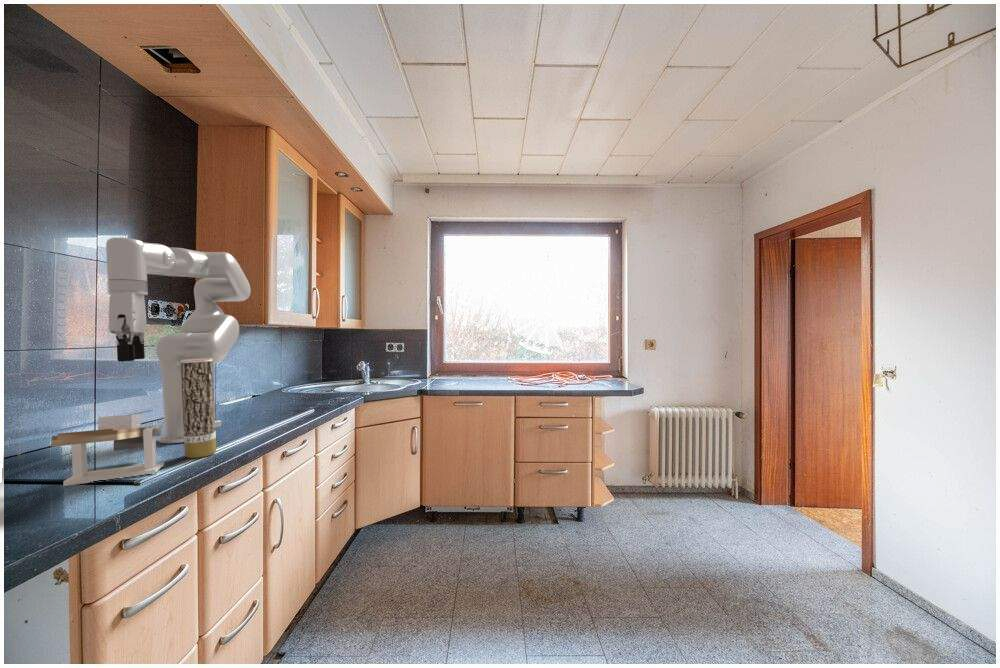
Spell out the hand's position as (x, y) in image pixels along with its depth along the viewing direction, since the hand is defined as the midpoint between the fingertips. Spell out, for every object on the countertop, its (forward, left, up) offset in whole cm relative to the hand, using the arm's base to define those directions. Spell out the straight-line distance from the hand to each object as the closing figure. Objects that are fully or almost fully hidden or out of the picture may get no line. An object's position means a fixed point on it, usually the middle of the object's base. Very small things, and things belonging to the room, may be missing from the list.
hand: (131, 359), depth 109 cm
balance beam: (+6, +11, -20) cm, 24 cm away
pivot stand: (+6, +11, -26) cm, 28 cm away
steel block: (+5, +8, -16) cm, 19 cm away
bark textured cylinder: (-11, +10, -26) cm, 30 cm away
